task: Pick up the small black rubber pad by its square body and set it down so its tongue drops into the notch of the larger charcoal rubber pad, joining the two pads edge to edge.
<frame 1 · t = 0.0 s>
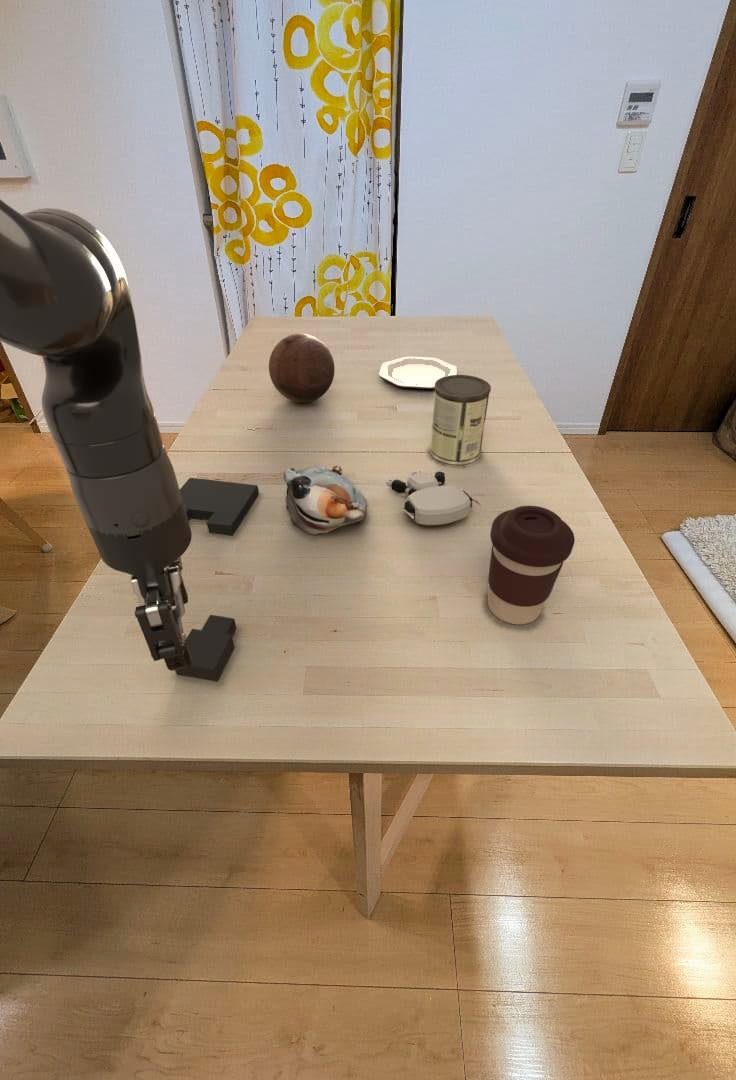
hand: (179, 632, 52), 13 cm above the table, tool pointing down, fingers open, 8 cm apart
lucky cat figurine: (330, 521, 87), on the table
coffee cup: (513, 607, 72), on the table
robot toy: (429, 508, 90), on the table
black pad: (206, 660, 65), on the table
coffee can: (454, 452, 105), on the table
plate: (418, 377, 135), on the table
wooden sphere: (304, 400, 124), on the table
base pad: (211, 509, 90), on the table
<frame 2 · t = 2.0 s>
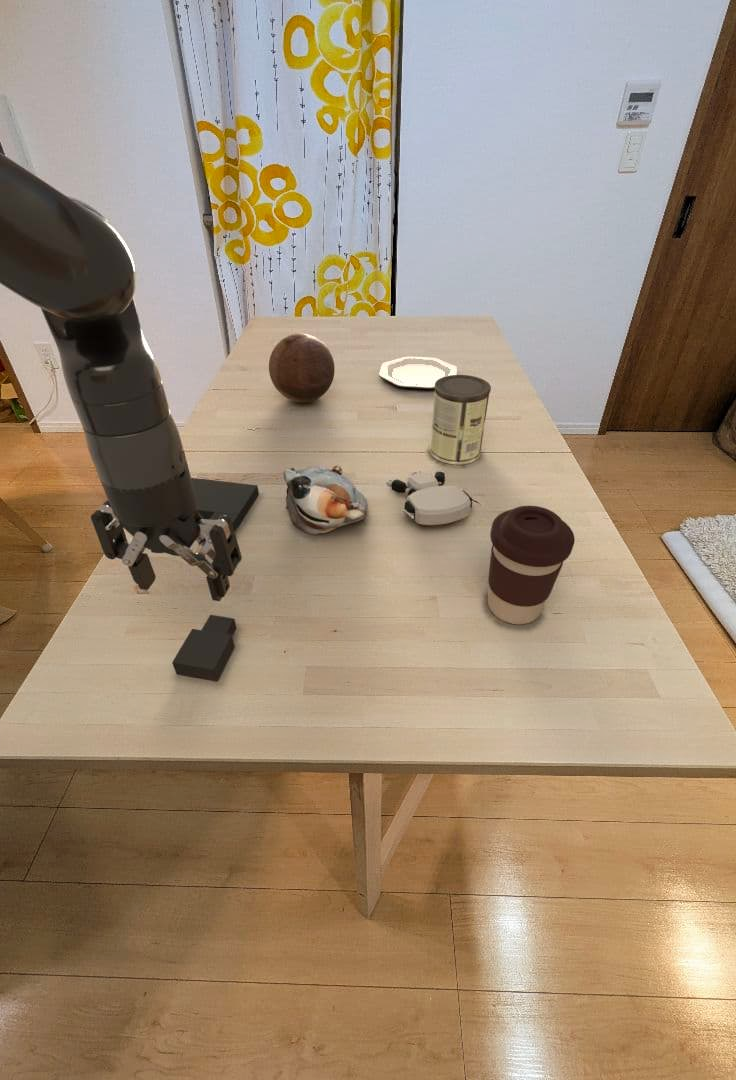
hand: (184, 590, 57), 13 cm above the table, tool pointing down, fingers open, 8 cm apart
nothing on the table moved.
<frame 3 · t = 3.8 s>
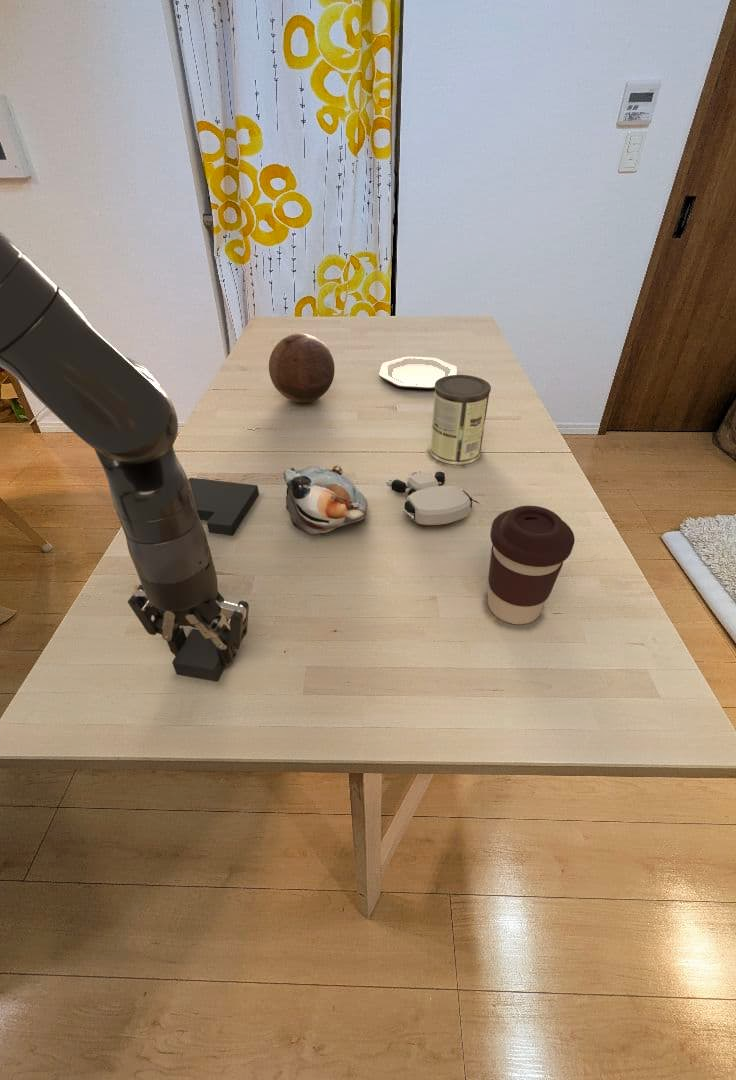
hand: (205, 657, 65), 1 cm above the table, tool pointing down, fingers closed on black pad, 5 cm apart
black pad: (206, 660, 65), on the table, touching gripper
everything else where it was.
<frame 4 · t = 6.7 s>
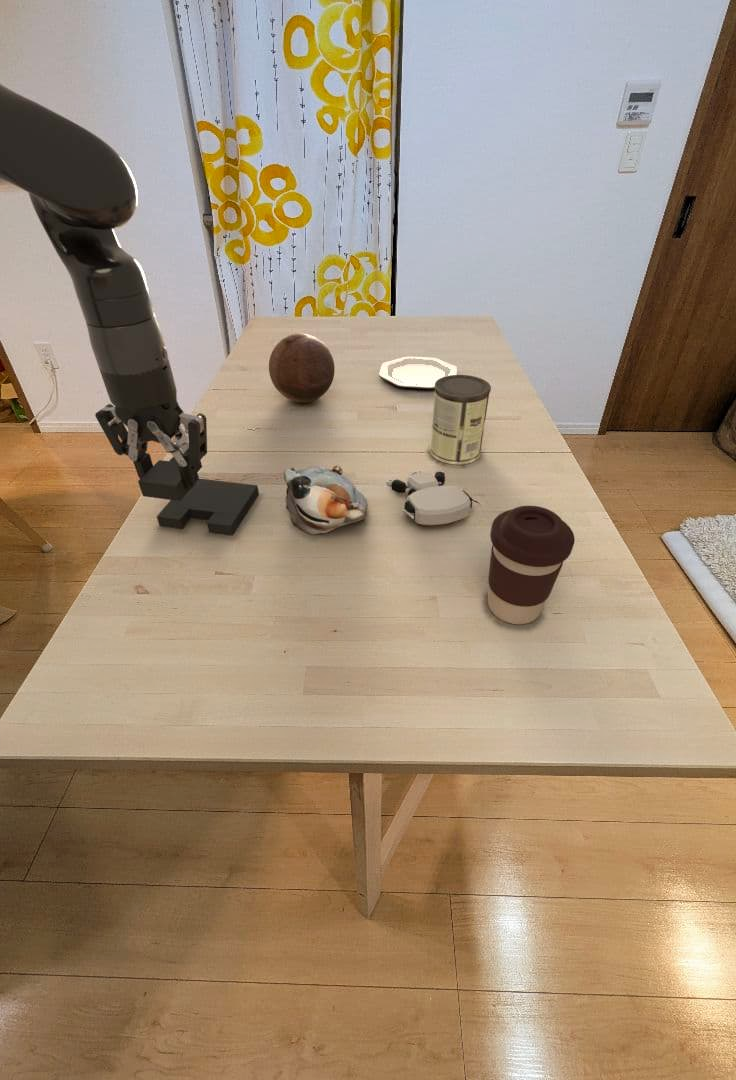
hand: (170, 483, 69), 15 cm above the table, tool pointing down, fingers closed on black pad, 5 cm apart
black pad: (171, 487, 70), point 14 cm above the table, touching gripper
everything else where it was.
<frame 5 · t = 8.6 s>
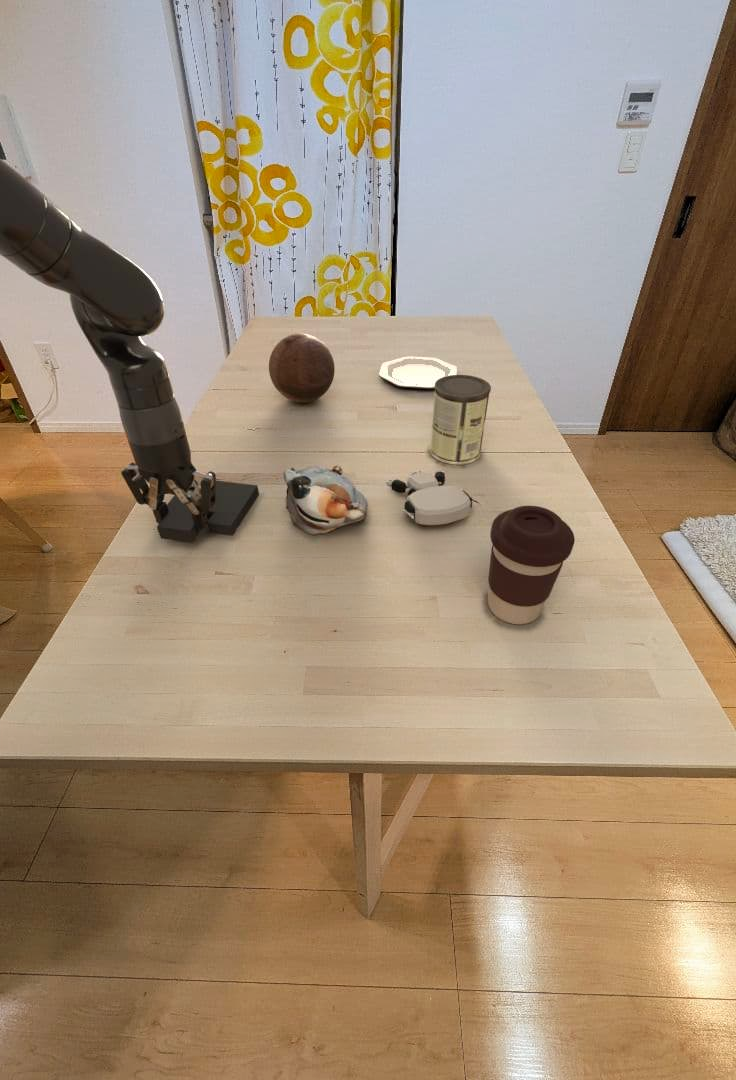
hand: (184, 526, 81), 3 cm above the table, tool pointing down, fingers closed on black pad, 5 cm apart
black pad: (184, 530, 81), point 2 cm above the table, touching gripper
everything else where it was.
when the fingers open (1 cm above the table, at t = 9.8 s): black pad stays where it is, on the table.
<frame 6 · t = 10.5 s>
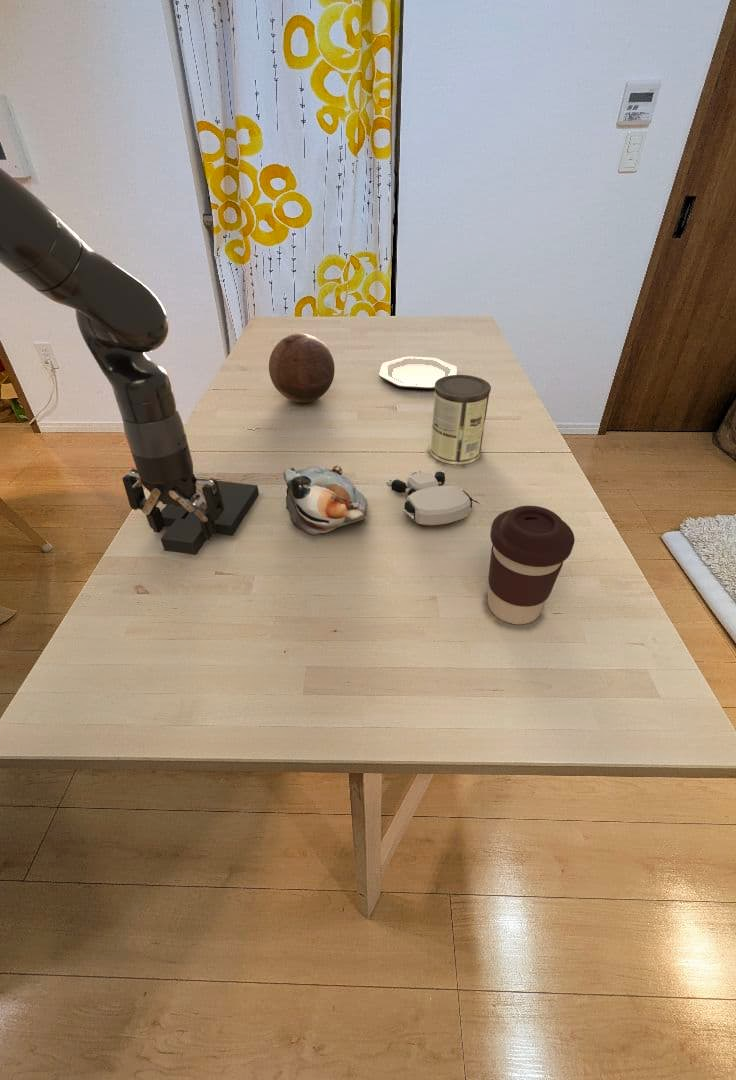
hand: (184, 533, 82), 2 cm above the table, tool pointing down, fingers open, 8 cm apart
black pad: (188, 541, 83), on the table
everything else where it was.
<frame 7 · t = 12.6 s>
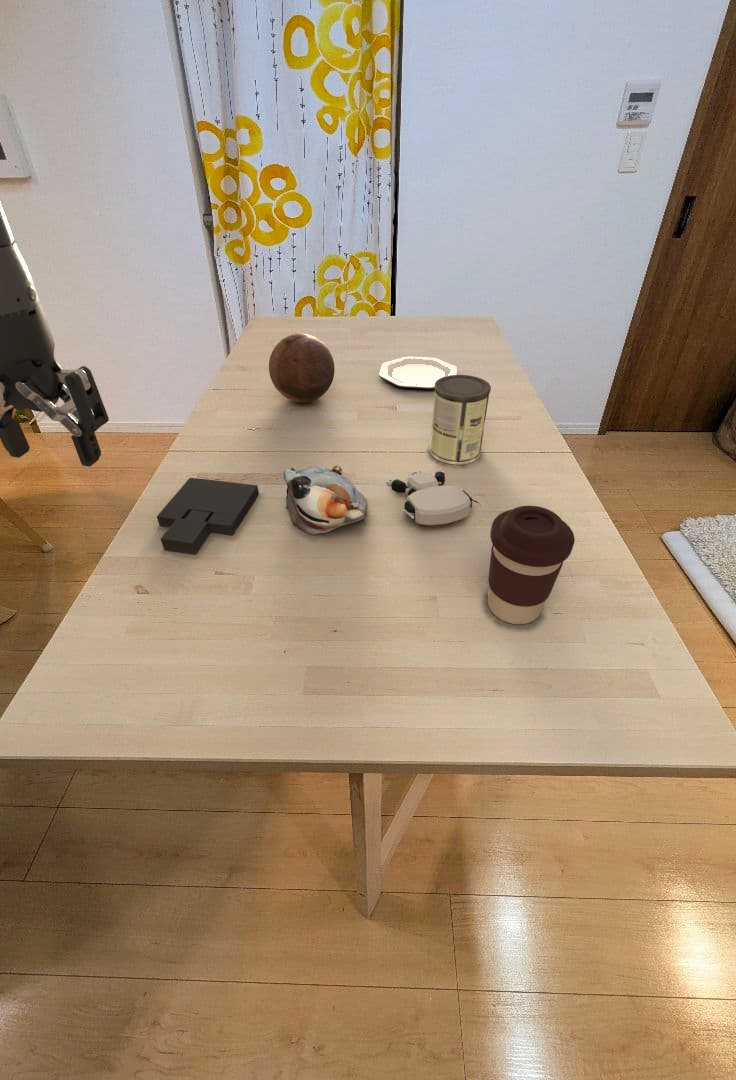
hand: (56, 458, 57), 24 cm above the table, tool pointing down, fingers open, 8 cm apart
nothing on the table moved.
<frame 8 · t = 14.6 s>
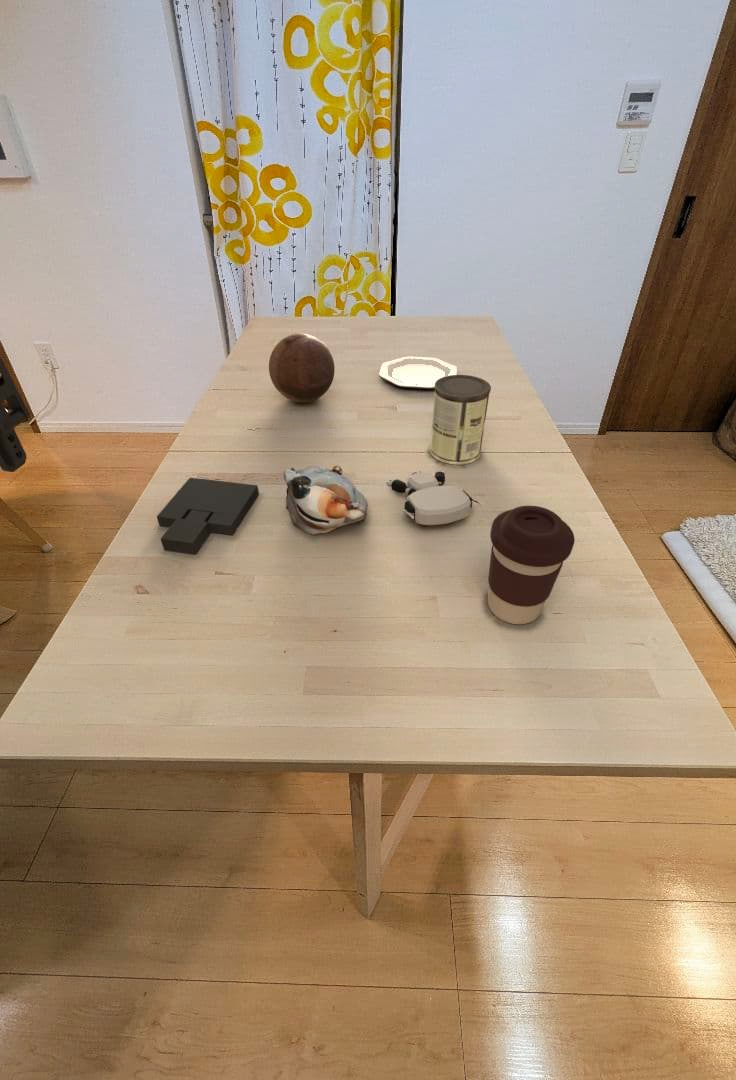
nothing on the table moved.
at the end: black pad 0.0 cm from the target spot on the table beside the base pad, on the table; black pad tilted 0°; the gripper is holding nothing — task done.
